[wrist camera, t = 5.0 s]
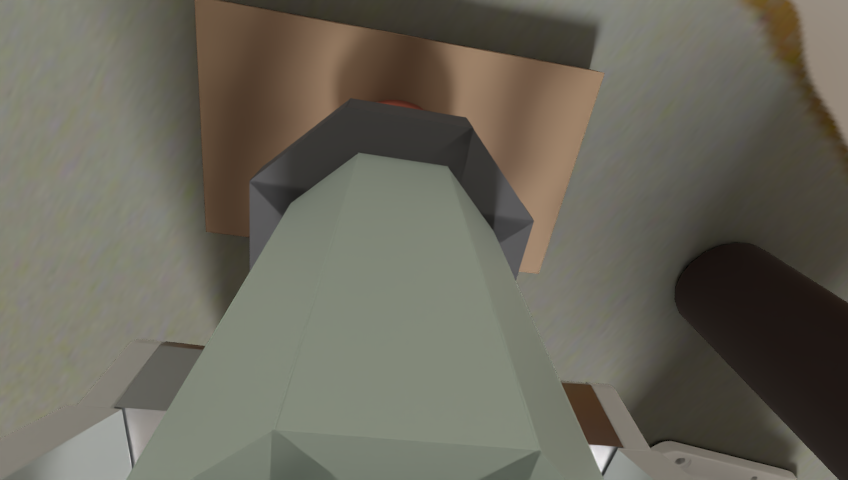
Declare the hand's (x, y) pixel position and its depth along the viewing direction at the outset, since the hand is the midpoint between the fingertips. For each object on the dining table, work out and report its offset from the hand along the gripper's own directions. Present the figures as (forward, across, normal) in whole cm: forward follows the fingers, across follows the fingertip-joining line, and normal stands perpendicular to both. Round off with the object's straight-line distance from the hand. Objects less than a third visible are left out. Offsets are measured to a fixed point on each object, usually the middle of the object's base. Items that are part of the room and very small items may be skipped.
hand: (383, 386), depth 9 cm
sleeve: (+6, 0, 0) cm, 6 cm away
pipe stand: (+19, 0, 0) cm, 19 cm away
